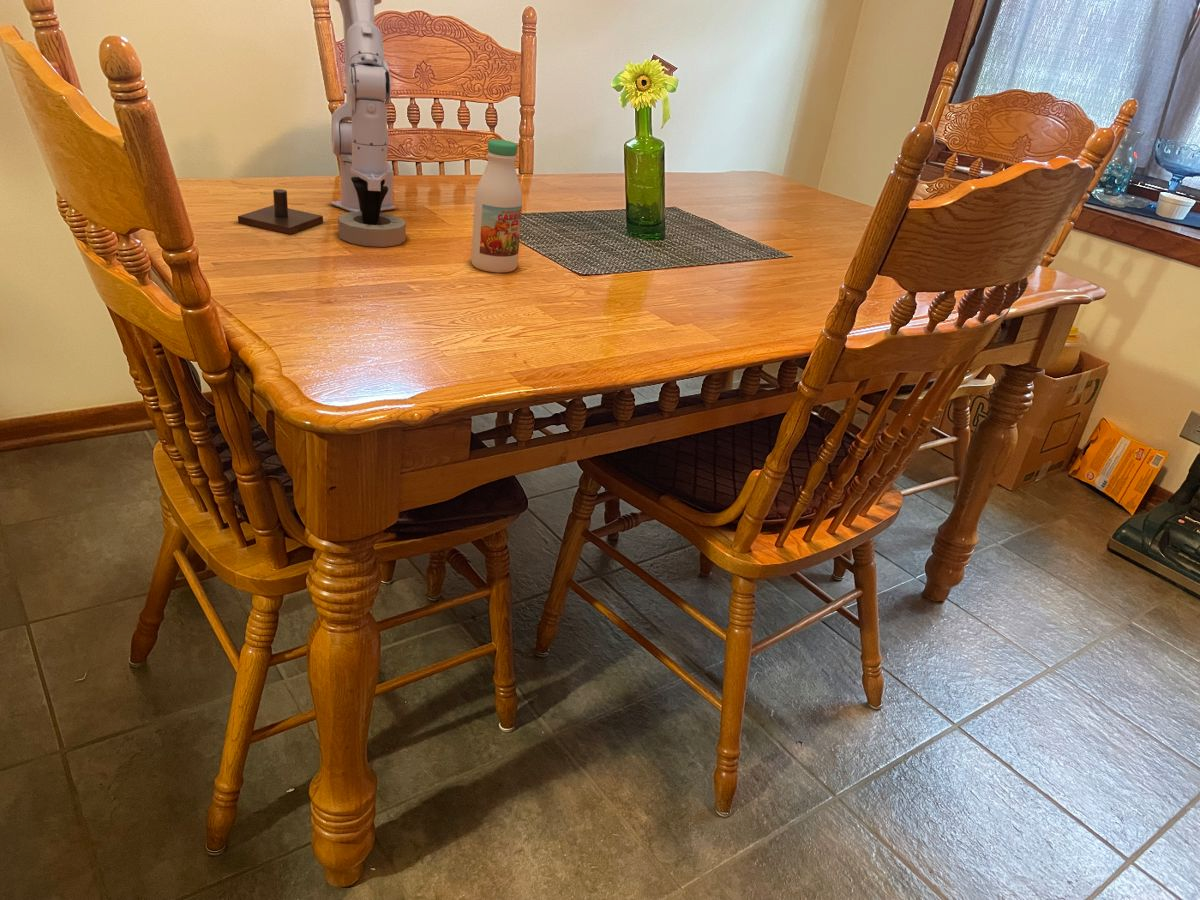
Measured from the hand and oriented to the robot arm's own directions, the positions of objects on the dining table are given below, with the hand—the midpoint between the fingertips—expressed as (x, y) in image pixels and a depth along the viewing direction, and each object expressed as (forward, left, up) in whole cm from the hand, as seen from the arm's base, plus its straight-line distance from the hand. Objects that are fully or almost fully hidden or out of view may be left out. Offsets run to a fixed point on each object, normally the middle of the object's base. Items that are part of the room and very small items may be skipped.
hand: (369, 222), depth 146 cm
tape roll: (+2, +3, -1) cm, 4 cm away
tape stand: (+10, -11, -1) cm, 15 cm away
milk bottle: (-5, +25, -2) cm, 26 cm away
